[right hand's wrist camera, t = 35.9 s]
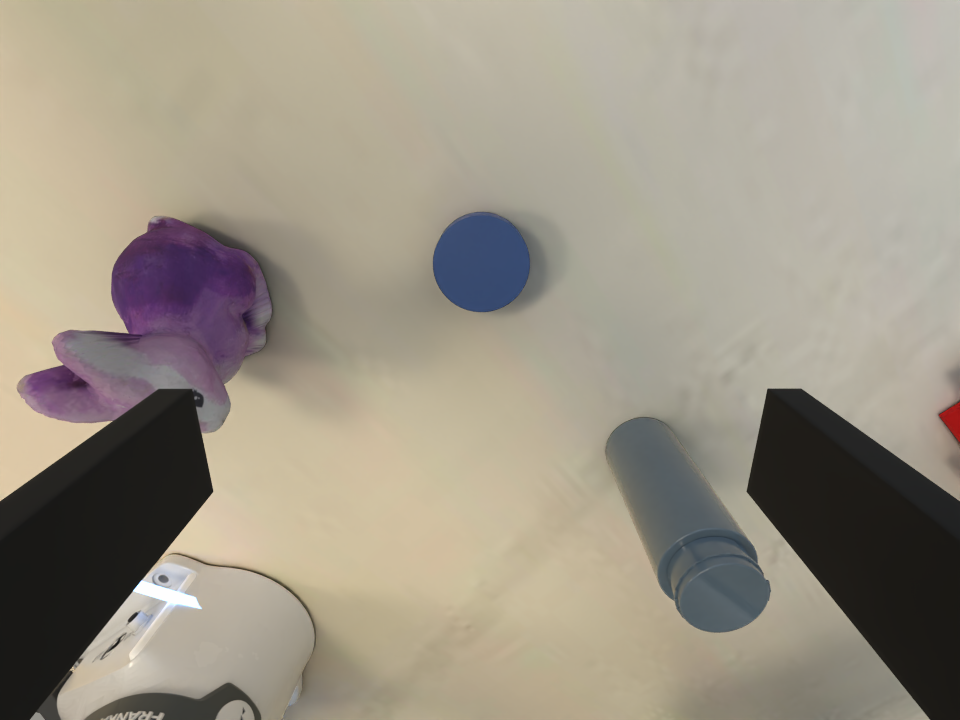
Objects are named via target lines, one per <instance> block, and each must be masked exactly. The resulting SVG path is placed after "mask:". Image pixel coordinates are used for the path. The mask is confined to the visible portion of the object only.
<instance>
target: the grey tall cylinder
mask: <svg viewBox="0 0 960 720" xmlns="http://www.w3.org/2000/svg"><path fill="white" fill-rule="evenodd" d="M606 459H607V462H608V464H609V467H610V469H611V471H612V474H613V476H614V478H615V481H616V483H617V485H618V488H619V490H620V493H621V495H622V497H623V500H624V502H625V504H626V507H627V509H628V511H629V514H630V516H631V519H632V521H633V523H634V526H635V528H636V530H637V533H638V535H639V537H640V540H641V542H642V545H643V547H644V549H645V552H646V554H647V556H648V559H649V561H650V563H651V566H652V568H653V571H654V573H655V575H656V578H657V580H658V582H659V585H660V587H661V588H662V590H663V591H664V593H665V594H666V595H667V596H668V597H669V598H671V599H672V600H674V601H675V605H676V608H677V610H678V611H679V613H680V614H681V616H682V617H683V618H684V619H685V620H686V621H687V622H688V623H690V624H691V625H692V626H694V627H696V628H698V629H700V630H703V631H707V632H714V633H721V632H729V631H733V630H737V629H739V628H742V627H744V626H746V625H748V624H749V623H751V622H752V621H753V620H755V619H756V618H757V617H758V616H759V615H760V614H761V613H762V611H763V610H764V608H765V607H766V604H767V602H768V601H769V597H770V592H771V589H770V584H769V581H768V580H766V579H765V578H764V575H763V572H762V570H761V568H760V567H759V565H758V559H757V553H756V550H755V548H754V546H753V545H752V543H751V542H750V540H749V539H748V538H747V536H746V535H745V533H744V532H743V531H742V529H741V528H740V526H739V525H738V524H737V522H736V521H735V519H734V518H733V516H732V515H731V514H730V512H729V511H728V509H727V508H726V507H725V505H724V504H723V502H722V501H721V500H720V498H719V497H718V495H717V494H716V492H715V491H714V490H713V488H712V487H711V485H710V484H709V483H708V481H707V480H706V478H705V477H704V476H703V474H702V473H701V471H700V470H699V469H698V467H697V466H696V464H695V463H694V461H693V460H692V459H691V457H690V456H689V454H688V453H687V452H686V450H685V449H684V447H683V446H682V445H681V443H680V442H679V440H678V439H677V437H676V436H675V435H674V433H673V432H672V430H671V429H670V428H669V427H668V426H667V425H666V424H665V423H663V422H661V421H659V420H657V419H653V418H636V419H632V420H629V421H627V422H625V423H623V424H621V425H620V426H619V427H617V428H616V429H615V430H614V431H613V433H612V434H611V435H610V437H609V439H608V441H607V445H606Z"/></svg>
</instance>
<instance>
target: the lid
mask: <svg viewBox="0 0 960 720" xmlns="http://www.w3.org/2000/svg"><path fill="white" fill-rule="evenodd" d="M529 269H530V258H529V252H528V249H527V246H526V244H525V242H524V240H523V238H522V236H521V234H520V233H519V231H518V230H517V229H516V227H515V226H514V225H513V224H512V223H510V222H509V221H508V220H506V219H505V218H503V217H501V216H499V215H496V214H493V213H488V212H475V213H470V214H467V215H464V216H462V217H460V218H458V219H457V220H455V221H454V222H452V223H451V224H450V225H449V226H448V227H447V228H446V229H445V231H444V232H443V234H442V236H441V238H440V240H439V242H438V243H437V246H436V249H435V252H434V257H433V270H434V276H435V279H436V282H437V284H438V286H439V288H440V289H441V291H442V293H443V294H444V295H445V296H446V297H447V298H448V299H449V300H450V301H451V302H453V303H454V304H455V305H457V306H459V307H461V308H463V309H466V310H469V311H474V312H488V311H493V310H497V309H499V308H502V307H504V306H506V305H507V304H509V303H510V302H512V301H513V300H514V299H515V298H516V297H517V296H518V295H519V293H520V292H521V291H522V289H523V287H524V286H525V284H526V281H527V278H528V275H529Z"/></svg>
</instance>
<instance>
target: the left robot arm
mask: <svg viewBox="0 0 960 720" xmlns="http://www.w3.org/2000/svg"><path fill="white" fill-rule="evenodd" d="M314 643H315V634H314V628H313V624H312V621H311V619H310V617H309V615H308V613H307V611H306V609H305V608H304V606H303V605H302V604H301V603H300V602H299V600H298V599H297V598H296V597H295V596H294V595H293V594H292V593H290V592H289V591H288V590H287V589H285V588H284V587H283V586H281V585H280V584H278V583H276V582H274V581H273V580H271V579H269V578H267V577H264V576H262V575H259V574H257V573H254V572H250V571H246V570H242V569H237V568H228V567H216V566H210V565H205V564H203V563H201V562H198V561H196V560H193V559H191V558H188V557H185V556H182V555H177V554H172V555H168V556H166V557H164V558H163V559H162V560H161V561H159V562H158V563H157V564H156V565H154V566H153V567H152V568H151V570H150V571H149V572H148V573H147V575H146V576H145V577H144V578H143V580H142V581H141V582H140V583H139V585H138V586H137V587H136V588H135V590H134V591H133V592H132V593H131V594H130V596H129V597H128V598H127V599H126V601H125V602H124V603H123V604H122V606H121V607H120V608H119V609H118V611H117V612H116V613H115V614H114V616H113V617H112V618H111V619H110V621H109V622H108V623H107V624H106V626H105V627H104V628H103V629H102V631H101V632H100V633H99V634H98V635H97V637H96V638H95V639H94V640H93V642H92V643H91V644H90V645H89V647H88V648H87V649H86V650H85V652H84V653H83V654H82V655H81V657H80V658H79V659H78V660H77V662H76V663H75V664H74V665H73V667H74V668H75V671H74V672H72V671H68V673H67V674H66V675H65V676H64V678H63V679H62V680H61V681H60V683H59V684H58V685H57V686H56V688H55V689H54V690H53V691H52V693H51V694H50V695H49V696H48V698H47V699H46V700H45V701H44V703H43V704H42V705H41V706H40V708H39V709H38V710H37V711H36V712H38V713H40V714H41V715H42V716H43V718H44V719H45V720H282V718H283V715H284V713H285V711H286V709H287V707H288V706H290V705H293V704H295V703H296V702H297V700H298V698H299V696H300V693H301V691H302V672H303V670H304V668H305V666H306V664H307V662H308V661H309V659H310V657H311V655H312V652H313V648H314Z"/></svg>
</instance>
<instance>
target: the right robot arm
mask: <svg viewBox="0 0 960 720" xmlns="http://www.w3.org/2000/svg"><path fill="white" fill-rule="evenodd" d="M212 493H213V488H212V483H211V478H210V473H209V468H208V463H207V458H206V453H205V448H204V443H203V439H202V434H201V429H200V424H199V419H198V414H197V409H196V404H195V399H194V394H193V389H158V390H156V391H155V392H153V393H152V394H151V395H149V396H148V397H146V398H145V399H144V400H142V401H141V402H139V403H138V404H137V405H135V406H134V407H132V408H131V409H130V410H128V411H127V412H125V413H124V414H123V415H121V416H120V417H118V418H117V419H115V420H114V421H113V422H111V423H110V424H108V425H107V426H106V427H104V428H103V429H101V430H100V431H99V432H97V433H96V434H94V435H93V436H92V437H90V438H89V439H87V440H86V441H85V442H83V443H82V444H80V445H79V446H77V447H76V448H75V449H73V450H72V451H70V452H69V453H68V454H66V455H65V456H63V457H62V458H61V459H59V460H58V461H56V462H55V463H54V464H52V465H51V466H49V467H48V468H47V469H45V470H44V471H42V472H41V473H39V474H38V475H37V476H35V477H34V478H32V479H31V480H30V481H28V482H27V483H25V484H24V485H23V486H21V487H20V488H18V489H17V490H16V491H14V492H13V493H11V494H10V495H9V496H7V497H6V498H4V499H3V500H2V501H0V720H30V719H31V717H32V716H33V715H34V714H35V712H36V711H37V710H38V709H39V708H40V706H41V705H42V704H43V703H44V701H45V700H46V699H47V698H48V696H49V695H50V694H51V693H52V691H53V690H54V689H55V688H56V686H57V685H58V684H59V683H60V681H61V680H62V679H63V678H64V676H65V675H66V674H67V673H68V671H69V670H70V669H71V668H72V667H73V665H74V664H75V663H76V662H77V660H78V659H79V658H80V657H81V655H82V654H83V653H84V652H85V650H86V649H87V648H88V647H89V645H90V644H91V643H92V642H93V640H94V639H95V638H96V637H97V635H98V634H99V633H100V632H101V631H102V629H103V628H104V627H105V626H106V624H107V623H108V622H109V621H110V619H111V618H112V617H113V616H114V614H115V613H116V612H117V611H118V609H119V608H120V607H121V606H122V604H123V603H124V602H125V601H126V599H127V598H128V597H129V596H130V594H131V593H132V592H133V591H134V590H135V588H136V587H137V586H138V585H139V583H140V582H141V581H142V580H143V578H144V577H145V576H146V575H147V573H148V572H149V571H150V570H151V568H152V567H153V566H154V565H155V563H156V562H157V561H158V560H159V558H160V557H161V556H162V555H163V554H164V552H165V551H166V550H167V549H168V547H169V546H170V545H171V544H172V542H173V541H174V540H175V539H176V537H177V536H178V535H179V534H180V532H181V531H182V530H183V529H184V527H185V526H186V525H187V524H188V522H189V521H190V520H191V519H192V517H193V516H194V515H195V514H196V513H197V511H198V510H199V509H200V508H201V506H202V505H203V504H204V503H205V501H206V500H207V499H208V498H209V496H210V495H211V494H212ZM747 493H748V494H749V495H750V496H751V498H752V499H753V500H754V501H755V503H756V504H757V505H758V506H759V508H760V509H761V510H762V511H763V513H764V514H765V515H766V516H767V517H768V519H769V520H770V521H771V522H772V524H773V525H774V526H775V527H776V529H777V530H778V531H779V532H780V534H781V535H782V536H783V537H784V539H785V540H786V541H787V542H788V544H789V545H790V546H791V547H792V549H793V550H794V551H795V552H796V554H797V555H798V556H799V557H800V558H801V560H802V561H803V562H804V563H805V565H806V566H807V567H808V568H809V570H810V571H811V572H812V573H813V575H814V576H815V577H816V578H817V580H818V581H819V582H820V583H821V585H822V586H823V587H824V588H825V590H826V591H827V592H828V593H829V594H830V596H831V597H832V598H833V599H834V601H835V602H836V603H837V604H838V606H839V607H840V608H841V609H842V611H843V612H844V613H845V614H846V616H847V617H848V618H849V619H850V621H851V622H852V623H853V624H854V626H855V627H856V628H857V629H858V631H859V632H860V633H861V634H862V635H863V637H864V638H865V639H866V640H867V642H868V643H869V644H870V645H871V647H872V648H873V649H874V650H875V652H876V653H877V654H878V655H879V657H880V658H881V659H882V660H883V662H884V663H885V664H886V665H887V667H888V668H889V669H890V670H891V671H892V673H893V674H894V675H895V676H896V678H897V679H898V680H899V681H900V683H901V684H902V685H903V686H904V688H905V689H906V690H907V691H908V693H909V694H910V695H911V696H912V698H913V699H914V700H915V701H916V703H917V704H918V705H919V706H920V708H921V709H922V710H923V711H924V712H925V714H926V715H927V716H928V717H929V719H930V720H960V501H958V500H957V499H956V498H954V497H953V496H951V495H950V494H949V493H947V492H946V491H944V490H943V489H942V488H940V487H939V486H937V485H936V484H935V483H933V482H932V481H930V480H929V479H928V478H926V477H925V476H923V475H922V474H921V473H919V472H918V471H916V470H915V469H913V468H912V467H911V466H909V465H908V464H906V463H905V462H904V461H902V460H901V459H899V458H898V457H897V456H895V455H894V454H892V453H891V452H890V451H888V450H887V449H885V448H884V447H883V446H881V445H880V444H878V443H877V442H875V441H874V440H873V439H871V438H870V437H868V436H867V435H866V434H864V433H863V432H861V431H860V430H859V429H857V428H856V427H854V426H853V425H852V424H850V423H849V422H847V421H846V420H845V419H843V418H842V417H840V416H839V415H837V414H836V413H835V412H833V411H832V410H830V409H829V408H828V407H826V406H825V405H823V404H822V403H821V402H819V401H818V400H816V399H815V398H814V397H812V396H811V395H809V394H808V393H807V392H805V391H804V390H802V389H767V394H766V399H765V404H764V409H763V414H762V419H761V424H760V429H759V434H758V439H757V443H756V448H755V453H754V458H753V463H752V468H751V473H750V478H749V483H748V488H747Z"/></svg>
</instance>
